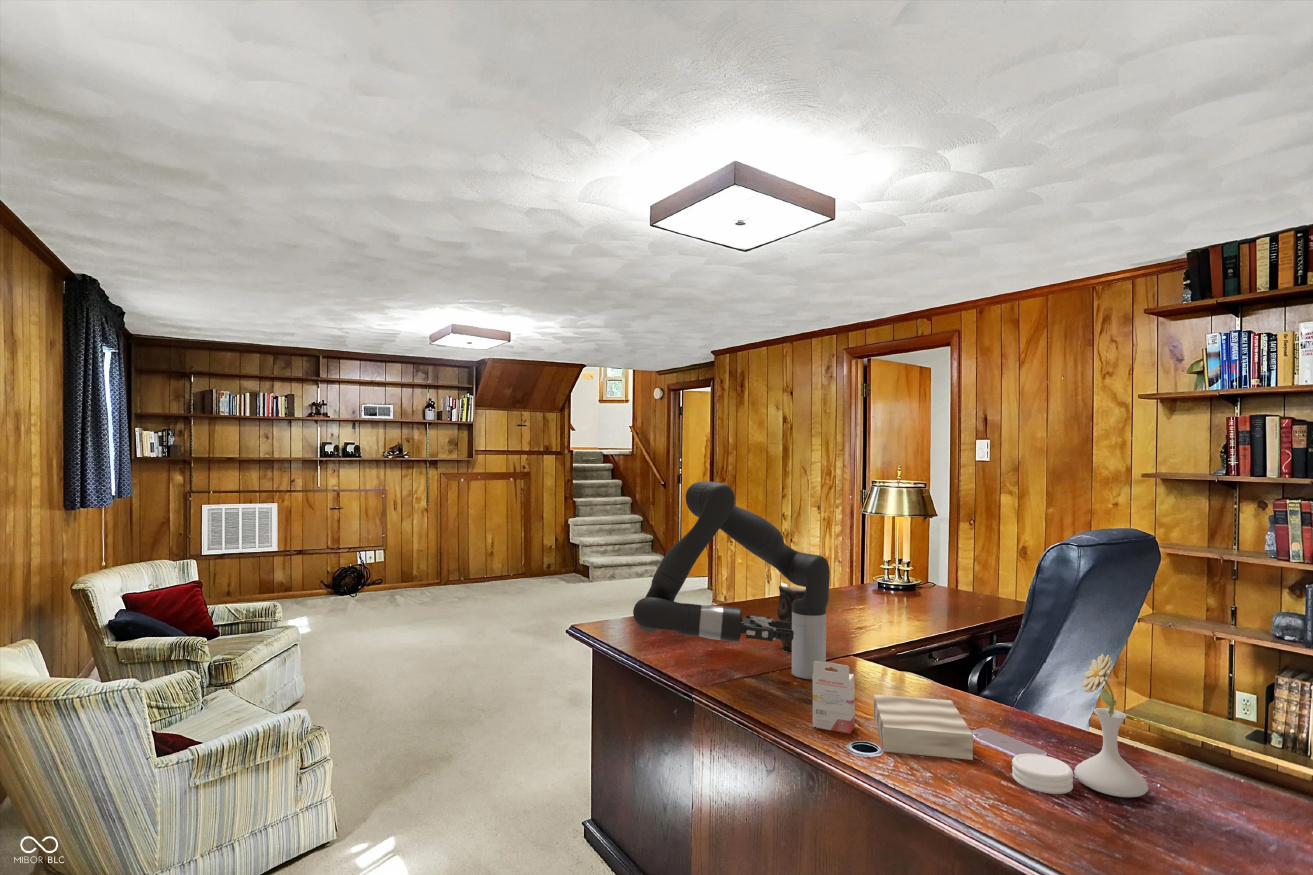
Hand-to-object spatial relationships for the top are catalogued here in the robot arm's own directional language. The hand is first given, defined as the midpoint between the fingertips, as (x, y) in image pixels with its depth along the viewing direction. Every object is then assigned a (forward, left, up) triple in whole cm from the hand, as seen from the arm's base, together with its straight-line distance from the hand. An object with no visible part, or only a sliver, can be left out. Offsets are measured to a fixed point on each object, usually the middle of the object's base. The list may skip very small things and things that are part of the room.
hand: (791, 631), depth 157 cm
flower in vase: (+19, +57, -21) cm, 64 cm away
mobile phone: (+1, +44, -21) cm, 49 cm away
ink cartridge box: (0, +9, -21) cm, 23 cm away
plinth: (+1, +27, -21) cm, 34 cm away
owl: (-61, +3, -21) cm, 65 cm away
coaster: (+18, +46, -21) cm, 54 cm away
